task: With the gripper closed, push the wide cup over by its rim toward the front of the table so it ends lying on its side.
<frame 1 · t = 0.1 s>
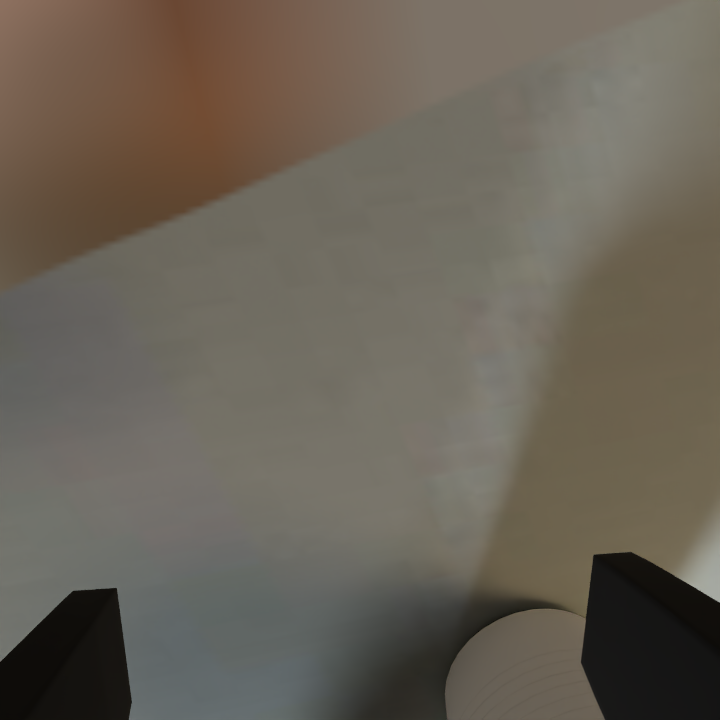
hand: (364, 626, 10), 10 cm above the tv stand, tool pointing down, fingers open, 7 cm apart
cup: (524, 669, 24), on the tv stand
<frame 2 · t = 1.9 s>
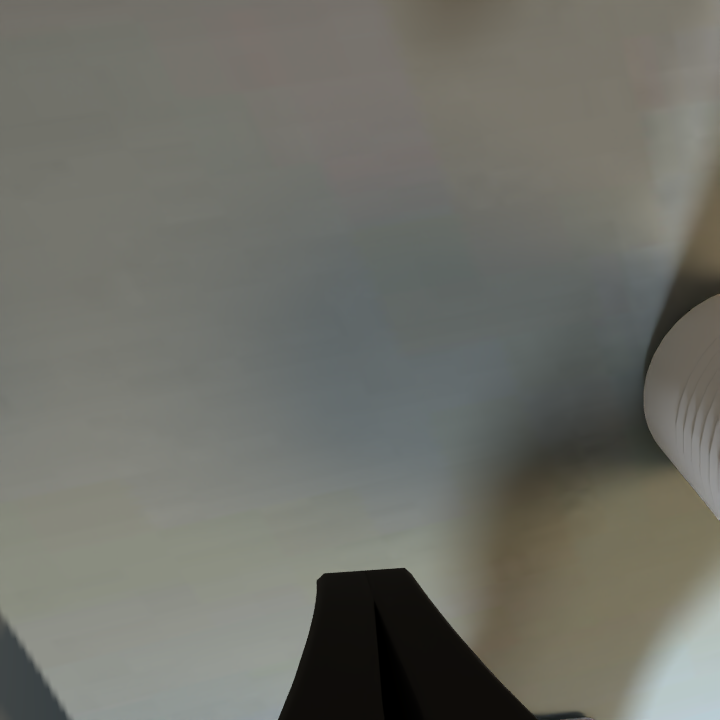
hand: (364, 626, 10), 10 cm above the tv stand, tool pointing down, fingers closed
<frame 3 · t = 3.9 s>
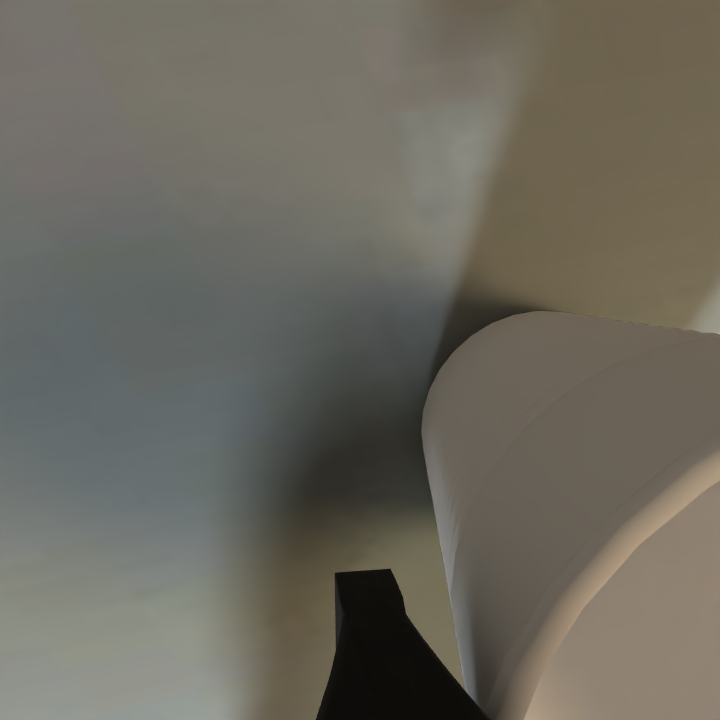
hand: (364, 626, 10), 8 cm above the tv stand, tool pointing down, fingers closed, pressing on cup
cup: (522, 412, 19), on the tv stand, touching gripper
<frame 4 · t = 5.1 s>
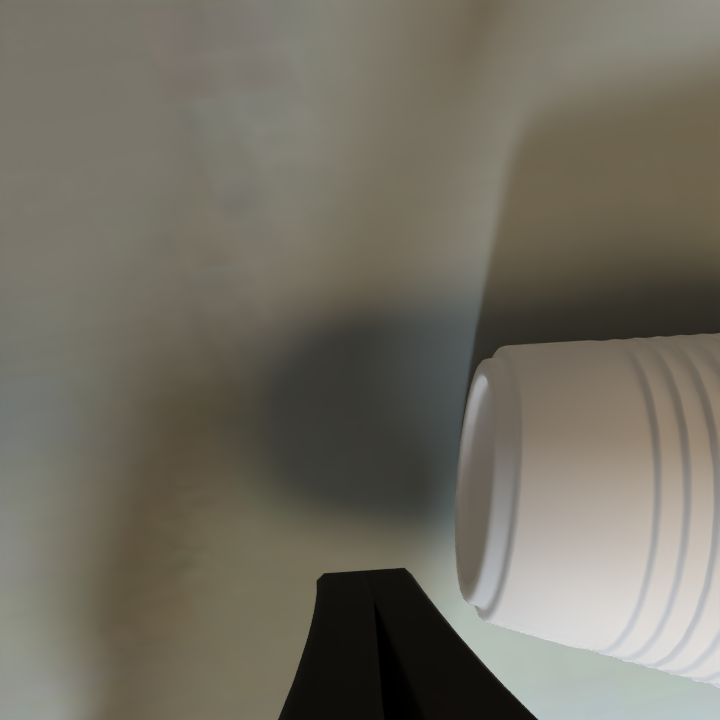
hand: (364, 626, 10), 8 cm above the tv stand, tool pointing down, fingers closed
cup: (463, 476, 15), point 3 cm above the tv stand
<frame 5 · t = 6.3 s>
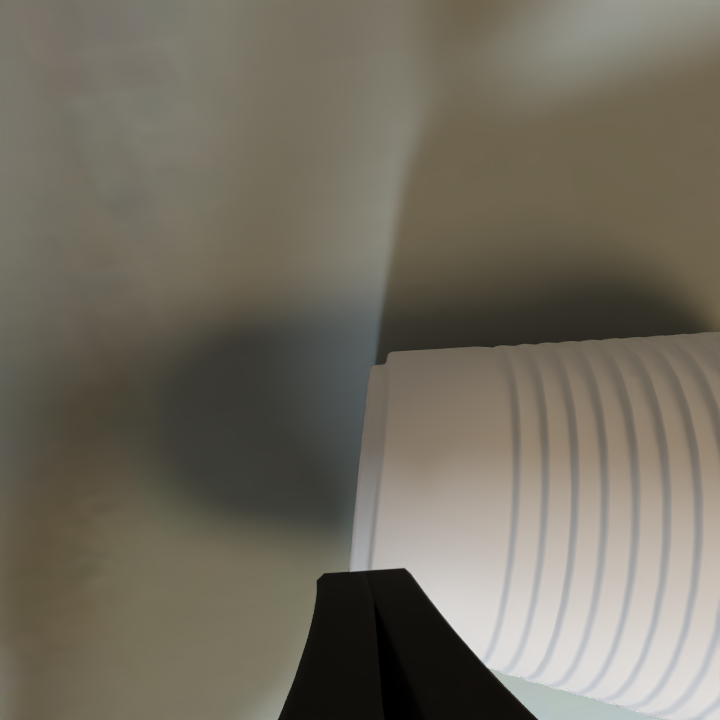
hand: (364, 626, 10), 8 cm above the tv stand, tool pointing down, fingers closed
cup: (350, 484, 15), point 3 cm above the tv stand
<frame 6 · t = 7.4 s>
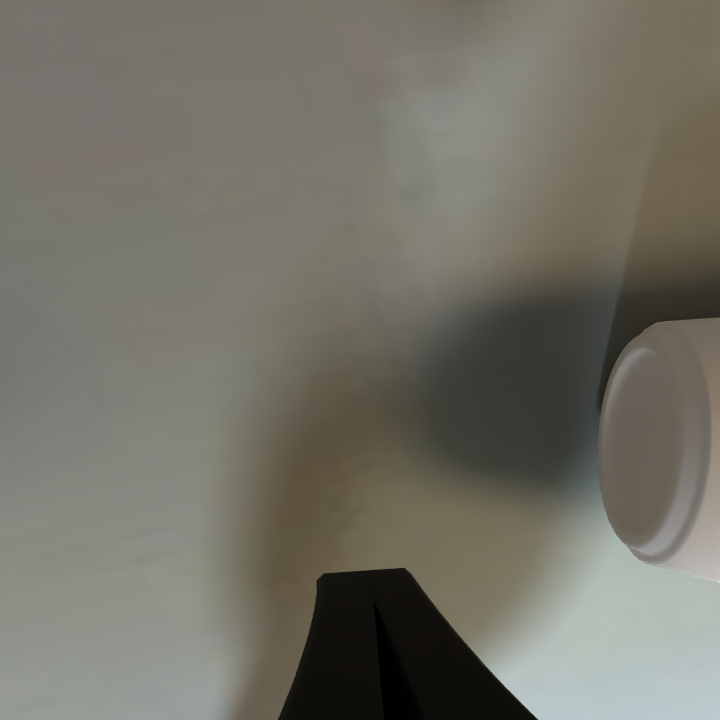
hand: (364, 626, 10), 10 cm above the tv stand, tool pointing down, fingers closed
cup: (625, 438, 17), point 3 cm above the tv stand
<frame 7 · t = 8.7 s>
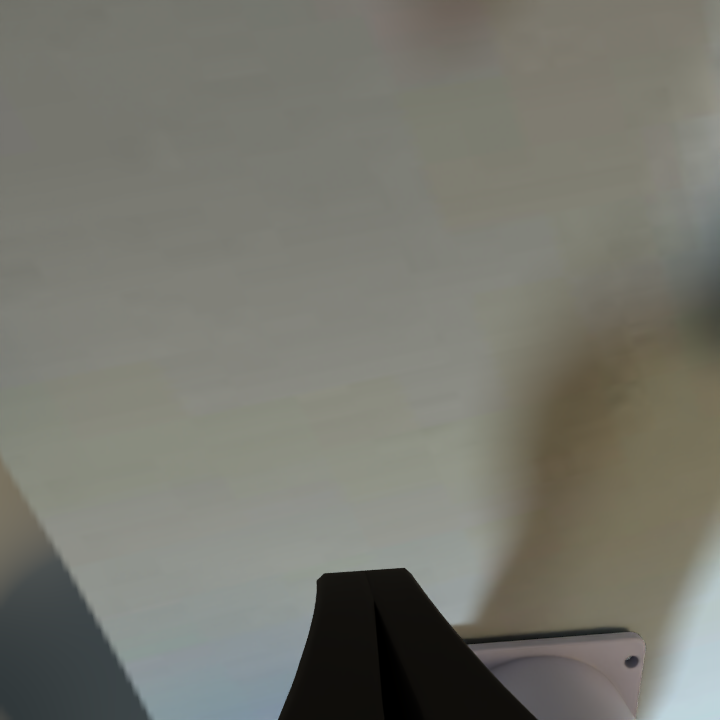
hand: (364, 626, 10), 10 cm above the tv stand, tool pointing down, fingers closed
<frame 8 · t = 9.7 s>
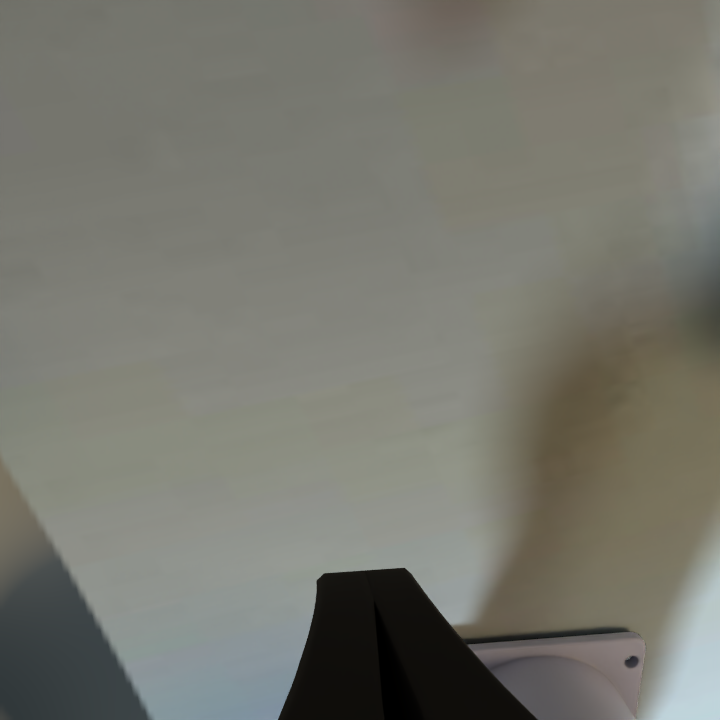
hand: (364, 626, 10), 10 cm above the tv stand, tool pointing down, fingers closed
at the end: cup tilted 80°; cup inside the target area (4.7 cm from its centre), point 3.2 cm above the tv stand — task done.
